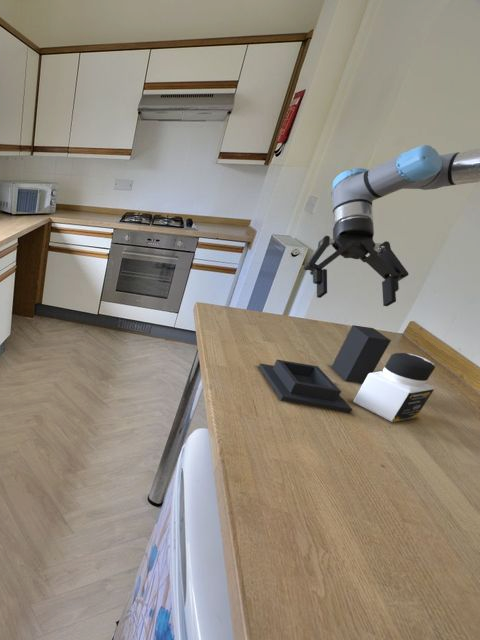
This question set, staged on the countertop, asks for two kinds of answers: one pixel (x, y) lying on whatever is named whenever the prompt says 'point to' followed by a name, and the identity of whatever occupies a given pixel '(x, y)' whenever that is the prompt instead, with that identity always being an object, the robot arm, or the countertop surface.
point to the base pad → (304, 385)
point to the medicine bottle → (397, 388)
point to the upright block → (360, 353)
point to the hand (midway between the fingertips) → (355, 299)
